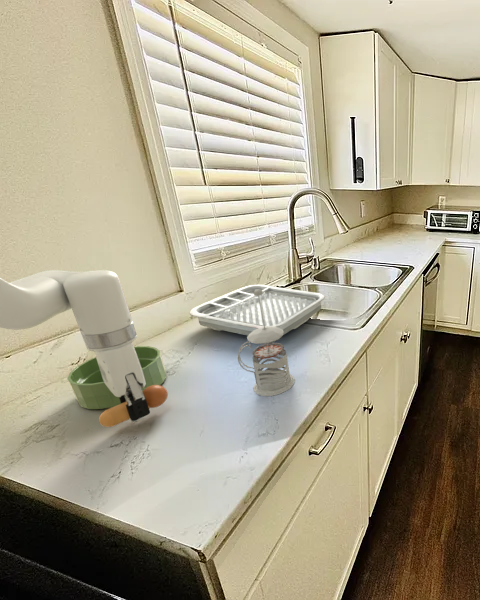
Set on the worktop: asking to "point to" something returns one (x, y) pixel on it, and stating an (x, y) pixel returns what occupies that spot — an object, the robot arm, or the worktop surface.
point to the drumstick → (120, 414)
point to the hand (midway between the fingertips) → (137, 412)
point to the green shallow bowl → (95, 391)
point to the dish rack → (258, 309)
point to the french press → (272, 377)
